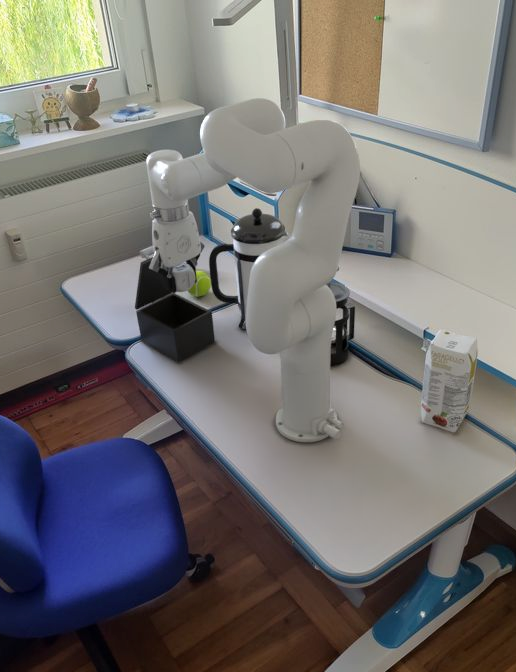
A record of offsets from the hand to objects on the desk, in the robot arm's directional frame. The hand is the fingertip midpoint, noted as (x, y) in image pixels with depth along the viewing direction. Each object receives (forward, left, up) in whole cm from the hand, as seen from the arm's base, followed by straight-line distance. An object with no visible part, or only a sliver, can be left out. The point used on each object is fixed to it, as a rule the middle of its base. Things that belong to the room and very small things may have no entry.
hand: (181, 285), depth 150 cm
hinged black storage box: (+5, 0, -17) cm, 18 cm away
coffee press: (-3, -20, -18) cm, 27 cm away
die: (0, 0, -1) cm, 1 cm away
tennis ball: (+19, -19, -18) cm, 32 cm away
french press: (-27, -20, -18) cm, 38 cm away
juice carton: (-59, -17, -18) cm, 64 cm away
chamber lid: (+8, 0, -1) cm, 9 cm away
